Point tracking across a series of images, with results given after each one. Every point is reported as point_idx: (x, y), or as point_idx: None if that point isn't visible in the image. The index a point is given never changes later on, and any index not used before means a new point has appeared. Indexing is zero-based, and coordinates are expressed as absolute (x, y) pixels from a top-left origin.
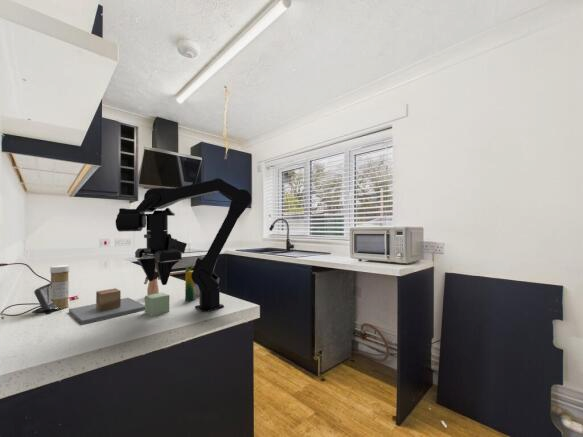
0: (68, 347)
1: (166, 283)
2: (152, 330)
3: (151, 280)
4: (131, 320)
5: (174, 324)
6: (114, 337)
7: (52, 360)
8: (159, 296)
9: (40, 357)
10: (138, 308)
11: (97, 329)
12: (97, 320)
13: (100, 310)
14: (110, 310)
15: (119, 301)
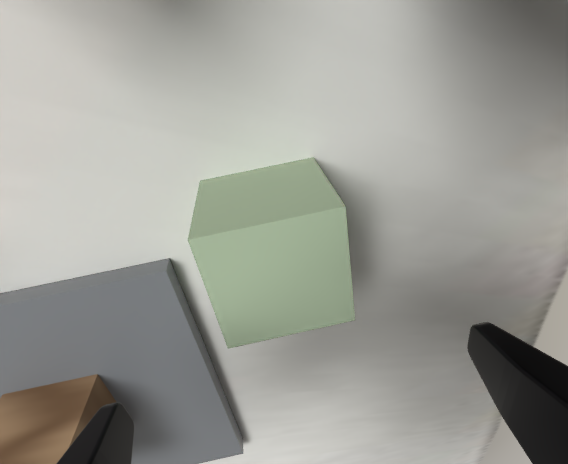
0: (432, 432)
1: (496, 330)
2: (522, 272)
3: (124, 417)
4: None
5: (549, 189)
6: (465, 364)
7: (483, 440)
8: (331, 275)
9: (443, 457)
10: (183, 307)
11: (339, 402)
12: (231, 413)
13: None
14: (145, 401)
15: (87, 407)
